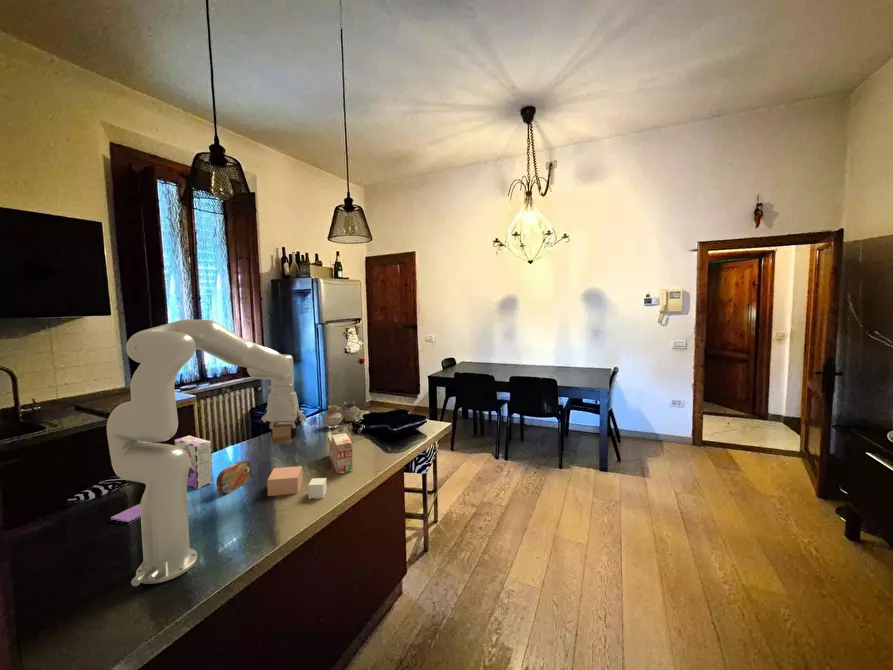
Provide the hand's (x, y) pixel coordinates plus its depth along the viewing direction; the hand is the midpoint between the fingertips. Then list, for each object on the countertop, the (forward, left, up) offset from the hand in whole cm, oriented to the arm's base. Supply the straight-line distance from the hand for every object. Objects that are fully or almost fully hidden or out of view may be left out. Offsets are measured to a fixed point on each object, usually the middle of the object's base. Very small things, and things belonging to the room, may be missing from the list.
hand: (284, 437), depth 139 cm
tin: (+2, +19, -19) cm, 27 cm away
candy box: (+7, +36, -19) cm, 41 cm away
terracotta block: (0, 0, -19) cm, 19 cm away
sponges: (-14, +41, -20) cm, 48 cm away
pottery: (+77, -5, -19) cm, 80 cm away
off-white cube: (-6, -13, -19) cm, 24 cm away
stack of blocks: (+22, -15, -19) cm, 33 cm away
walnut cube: (0, 0, -1) cm, 1 cm away
